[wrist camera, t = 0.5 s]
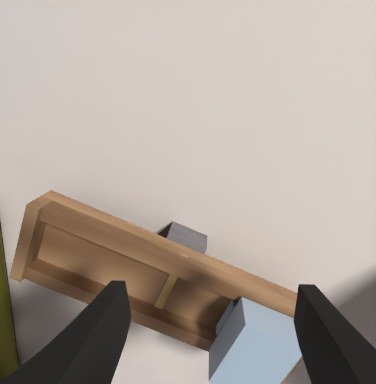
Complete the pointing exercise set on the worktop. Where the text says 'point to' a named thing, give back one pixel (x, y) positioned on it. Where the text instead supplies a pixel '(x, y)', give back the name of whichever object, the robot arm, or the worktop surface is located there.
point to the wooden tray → (137, 269)
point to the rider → (253, 345)
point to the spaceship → (6, 324)
